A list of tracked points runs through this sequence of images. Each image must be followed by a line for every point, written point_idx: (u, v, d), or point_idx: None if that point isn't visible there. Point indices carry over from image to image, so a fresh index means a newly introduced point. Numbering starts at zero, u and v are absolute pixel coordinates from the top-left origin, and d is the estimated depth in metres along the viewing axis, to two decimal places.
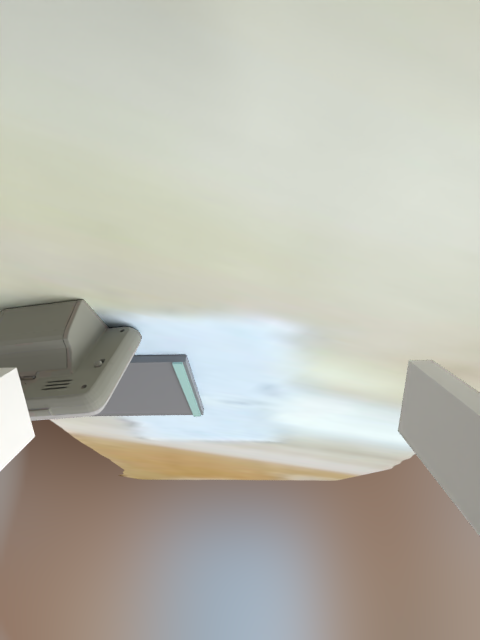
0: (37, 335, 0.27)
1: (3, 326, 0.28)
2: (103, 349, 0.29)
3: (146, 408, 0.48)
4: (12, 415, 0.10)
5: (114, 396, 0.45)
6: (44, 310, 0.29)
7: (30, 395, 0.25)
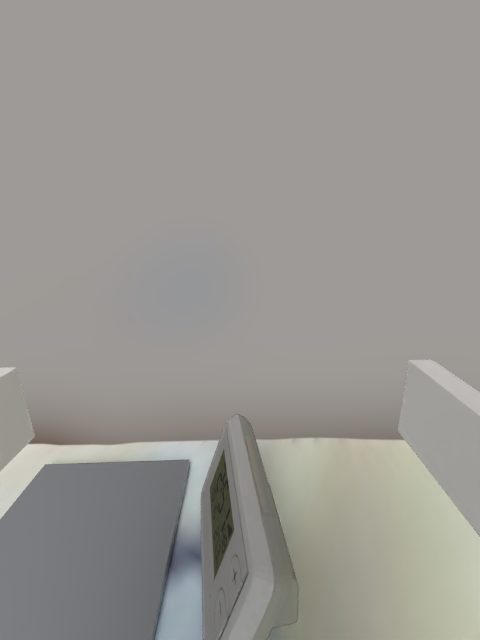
0: (285, 542, 0.24)
1: None
2: None
3: None
4: (12, 415, 0.10)
5: (53, 562, 0.26)
6: None
7: None
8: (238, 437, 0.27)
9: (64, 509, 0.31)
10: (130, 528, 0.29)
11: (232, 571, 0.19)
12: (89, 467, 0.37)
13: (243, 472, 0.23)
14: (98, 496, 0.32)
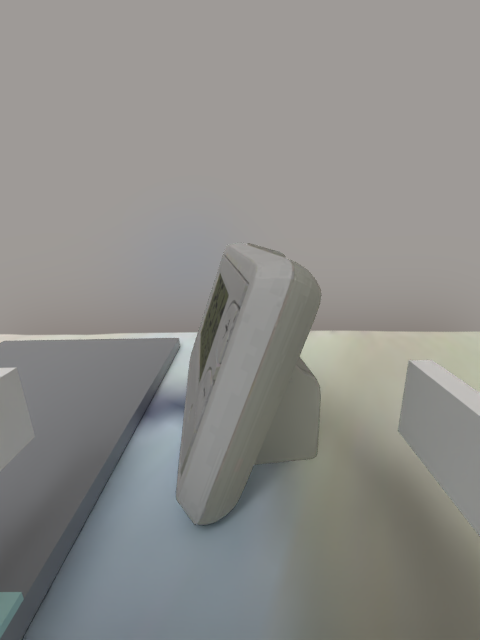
0: None
1: None
2: None
3: None
4: (12, 415, 0.10)
5: None
6: None
7: None
8: (239, 245, 0.20)
9: (17, 367, 0.24)
10: (97, 379, 0.22)
11: (224, 329, 0.12)
12: (57, 342, 0.30)
13: (244, 248, 0.16)
14: (62, 359, 0.26)
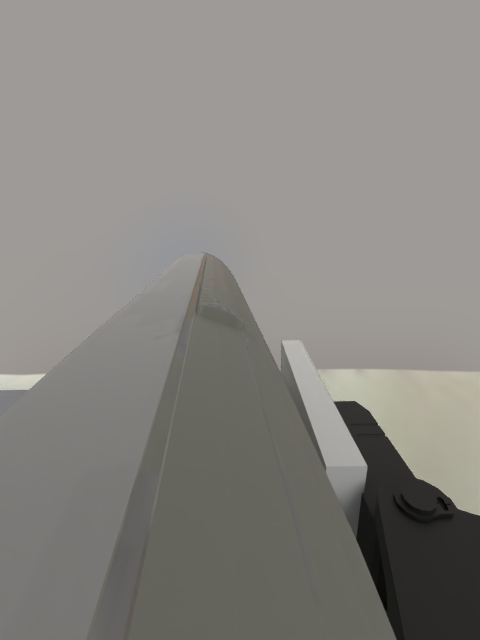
0: None
1: None
2: None
3: None
4: None
5: None
6: None
7: None
8: (191, 258, 0.11)
9: None
10: None
11: None
12: None
13: (174, 274, 0.07)
14: None
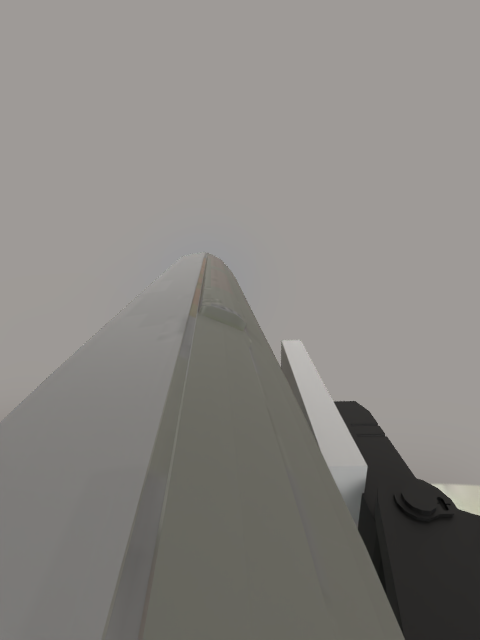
0: None
1: None
2: None
3: None
4: None
5: None
6: None
7: None
8: (192, 258, 0.11)
9: None
10: None
11: None
12: None
13: (175, 274, 0.07)
14: None
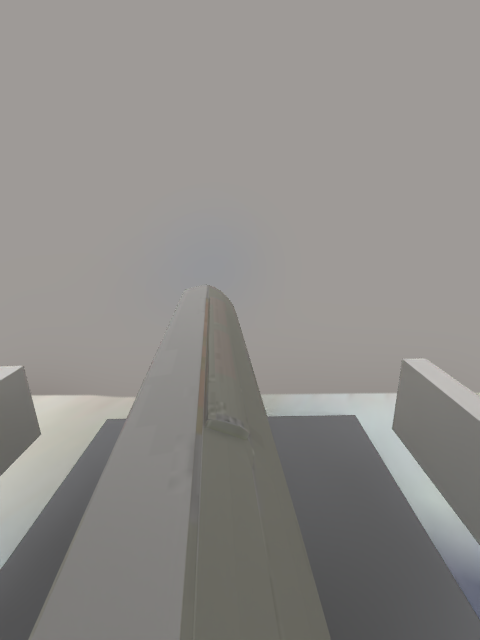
0: None
1: None
2: None
3: None
4: (19, 413, 0.10)
5: None
6: None
7: None
8: (194, 299, 0.11)
9: None
10: (329, 533, 0.13)
11: None
12: None
13: (179, 336, 0.07)
14: None
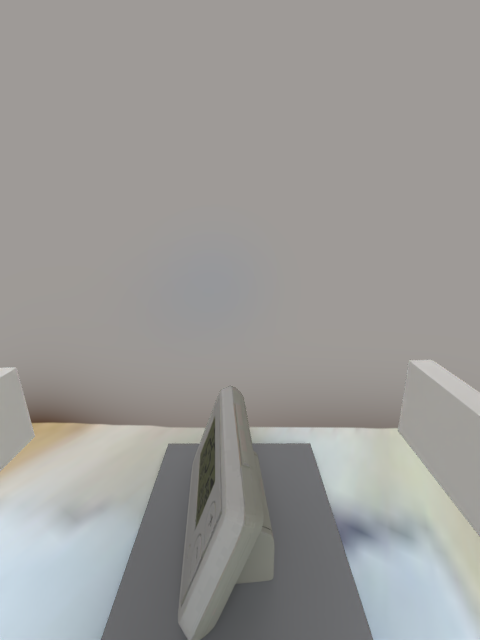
0: None
1: None
2: None
3: (163, 574, 0.24)
4: (12, 415, 0.10)
5: None
6: None
7: None
8: (228, 404, 0.28)
9: None
10: (286, 503, 0.30)
11: (209, 516, 0.20)
12: None
13: (228, 432, 0.24)
14: None
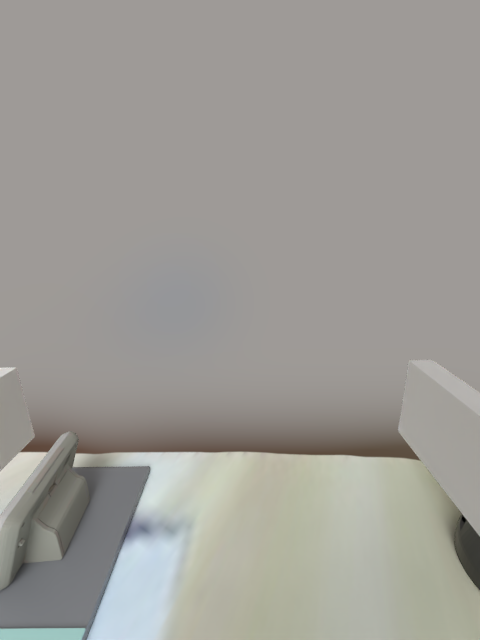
0: (68, 513, 0.40)
1: (84, 494, 0.44)
2: (20, 551, 0.35)
3: None
4: (12, 415, 0.10)
5: None
6: (74, 526, 0.41)
7: (46, 487, 0.37)
8: (55, 447, 0.42)
9: None
10: (103, 511, 0.44)
11: None
12: (78, 470, 0.52)
13: (38, 468, 0.39)
14: None
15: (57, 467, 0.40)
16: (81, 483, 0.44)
